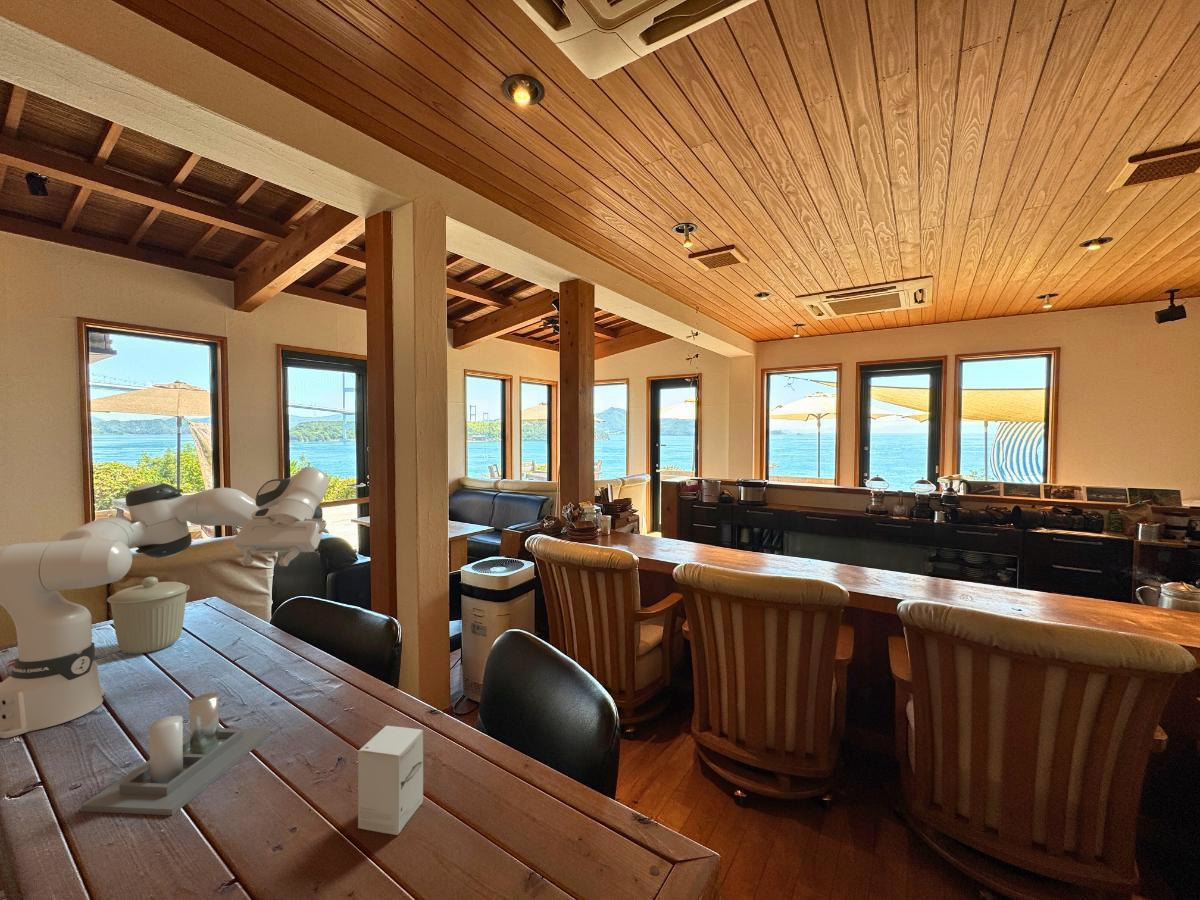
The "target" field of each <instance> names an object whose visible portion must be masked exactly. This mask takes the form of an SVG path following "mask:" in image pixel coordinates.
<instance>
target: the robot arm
mask: <svg viewBox="0 0 1200 900" xmlns="http://www.w3.org/2000/svg"><path fill="white" fill-rule="evenodd" d="M329 484H330V479H329V477H328V476H327V475H326V474H325V472H323V471H322V470H320V469H318V468H316V467H312V466H305V467H303V468H302V469H300V470H299V471H298V472H297V473H295V474H294V475H292V476H289V477H288V478H278V479H277V478H276V479H275V478H274V479H271V480H268V481H265V483H264V484H263V485H262V486H261V487H260V488H259V489H258V490H257V493H256V496H255V499H254V498H252V497H251V496H249V495H248V494H246V493H245V492H243V491H241V490H239V489H236V488H231V487H216V488H211V489H206V490H201V491H199V492H196V493H194V494H190V495H183V494H181V493H183V492H184V490H183V489H182V488H181V489H180V488H179V489H177V488H176V487H175V486H174V485H171V484H168V483H163V482H160V483H159V482H151V483H150V482H147V483H144V484H141V485H138V486H136V487H135V488H133V489H131V490H129V491H128V492H127V493H126V495H125V505H126V507H128V512H129V516H130V518H127V517H124V516H110V517H103V518H98V519H96V520H93V521H89V522H87V523H85V524H83V525H81V526H79V527H76V528H74V529H72V530H70V531H68V532H66V533H64V535H62V536H61V537H60V539H59V540H56V541H53V540H52V541H39V542H22V543H21V542H20V543H12V544H6V545H2V546H0V605H1V606H2V607H3V608H4V609H5V611H6V612H7V613H8V614H9V615H10V617H11V619H12V621H13V624H14V627H15V633H16V639H17V654H18V657H17V658H15V659H12V660H9V661H7V662H6V663H7V664H8V665H6V667H7V668H9V667H12V666H13V667H12V669H11V672H10V674H9V676H8V677H7V678H5V679H4V680H2V682H0V738H1V739H8V738H12V737H16V736H19V735H22V734H26V733H29V732H33V731H38V730H41V729H48V728H49V727H54V726H58V725H61V724H64V723H67V722H69V721H72V720H75V719H77V718H80V717H82V716H84V715H86V714H89V713H91V712H93V711H94V710H95V709H97V708H99V706H101V705H102V703H103V702H104V698H103V695H104V694H105V692H106V689H105V688H104V687H101V681H100V675H99V669H98V664H97V662H96V661H94V660H95V659H96V647H95V643H94V642H93V639H92V638H93V635H92V625H93V624H92V614H91V612H90V610H89V609H88V608H87V607H86V606H84V605H82V604H80V603H79V604H78V603H75V602H72V601H70V600H67V599H66V598H65V597H64V596H62V594H61V593H60V591H67V590H77V589H88V588H89V589H90V588H94V587H99V586H104V585H108V584H112V583H115V582H118V581H120V580H122V579H124V577H125V576H126V575H127V574H128V573H129V571H130V569H131V568H132V567H131V566H132V563H133V554H132V551H131V549H132V548H137V549H135V553H137V554H143V555H145V556H147V557H150V558H157V559H159V558H169V557H174V556H177V555H179V554H180V553H182V552H184V551H185V550H187V549H188V548H189V547H190V546H191V545H192V533H190V531H189V526H188V523H191V524H194V525H198V526H205V527H206V526H208V527H209V526H210V527H212V526H213V527H214V526H216V527H217V526H228V527H229V526H230V527H238V528H241V529H240V531H238V533H237V534H236V535H235V538H234V540H233V544H234V546H235V547H236V548H237V549H238V550H239V551H240V552H243V558H242V559H241V561H240V564H241V565H242V566H243V567H246V566H247V567H250V566H251V565H252V563H253V562H254V559H253V558H252V555H254V554H255V552H257V553H258V552H261V553H262V552H264V553H265V552H269V553H271V552H273V553H274V552H275V553H276V552H277V553H278V552H279V553H286V555H284V556H280V559H279V560H278V562H277V564H278V565H279V567H288V566H289V565H290V562H291V561H292V560H294V559H295V558H296V557H297V556H299V554H300V553H313V552H314V551H316V550H317V549H318V547H319V544H320V542H321V539H322V536H323V532H324V531H325V529H326V528H327V527H326V526H327V521H326V520H325V519H323V508H322V507H321V506H319V505H320V504H321V503H322V501H323V499H324V498H325V495H326V493H327V490H328V488H329ZM9 663H10V664H9Z"/></svg>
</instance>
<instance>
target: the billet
mask: <svg viewBox="0 0 1200 900" xmlns="http://www.w3.org/2000/svg"><path fill="white" fill-rule="evenodd" d="M219 699H220V696H219V694H218V693H216V692H210V693H204V694H201V695H197V696H195V697H193V698H192V699H190V700H189V733H190V754H203V755H206V754H208V753H209V752H211V751H212V750H213V749H215V748H216V747H217V746H219V728H220V713H219V711H220V710H219V709H220V707H219V705H220V703H219V701H220V700H219Z"/></svg>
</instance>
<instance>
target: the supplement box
mask: <svg viewBox="0 0 1200 900" xmlns="http://www.w3.org/2000/svg"><path fill="white" fill-rule="evenodd" d="M423 802H424V730H423V729H419V728H411V727H404V726H395V725H385V726H384V727H383V728H382V729H381V730H379V732H377V733H376V734H375V735H374V736H373V737H372V738H371V739H369V740H368V742H366V743H365V744H364V745H363V746H362V747H361V748H360V749H359V750H358V751H357V828H358V829H360V830H366V831H371V832H376V833H381V834H386V835H387V834H389V835H393V836H394V835H395V836H399V834H401V831H403V828H404V827H405V826H406V824H407V823H408V822H409V821H410V820H411V818H412V816H413V815H414V814H415V812H416V811H417V810H418V809H419V808H420V806H421V805H422V804H423Z"/></svg>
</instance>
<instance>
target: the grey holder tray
mask: <svg viewBox="0 0 1200 900" xmlns="http://www.w3.org/2000/svg"><path fill="white" fill-rule="evenodd" d="M183 725H184V724H183V716H181V715H169V716H166V717H163V718H160V719H158V720H156V721H154V722H153V723H151V724H150V726H149V759H148V760H147V761H146V762H144V763H142V764H141V765H140V766H138V767H136V768H135V769H133V770H132V771H130V772H129V773H128V774H126V775H124V776H123V777H121V778H120V779H118V780H117V781H115V782H113V783H112V784H110V785H109V786H108V787H106V788H105V789H103V790H102V791H100V792H99V793H97V794H96V795H94V796H93V797H91V798H90V799H88V800H86V801H85V802H84V803H82V804H81V805H80V812H90V813H107V814H109V813H111V814H132V815H136V814H137V815H153V816H154V815H157V816H158V815H159V816H174V815H175V814H176V813H177V812H178V811H180V810H181V809H182V808H183V807H185V806H186V805H187V804H188V803H190V801H192V800H193V799H194V798H196V797H197V796H198V795H199V794H200V793H202V792H204V790H205V789H207V788H208V787H209V786H210V785H212V784H213V783H214V782H215V781H216V780H217V779H218V778H220V777H221V776H222V775H223V774H225V773H226V772H227V771H228V770H229V769H231V768H232V767H233V766H234V765H236V764H237V763H238V762H240V761H241V760H242V759H243V758H244V757H245V756H247V755H248V754H249V753H250V752H251V751H252V750H254V749H256V748H257V747H259V745H260V744H262V743H263V742H264V741H265V740H266V739H267V738H269V737H270V736H271V735H272V730H271V729H259V728H258V729H254V728H252V729H251V728H222V727H219V746H217V747H216V748H215V749H213V750H212V751H211V752H209V753H208V754H206V755H203V754H190V732H189V733H187V734H186V735H185V736H184V735H183V733H184V731H183V729H184V728H183V727H184V726H183Z"/></svg>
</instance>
